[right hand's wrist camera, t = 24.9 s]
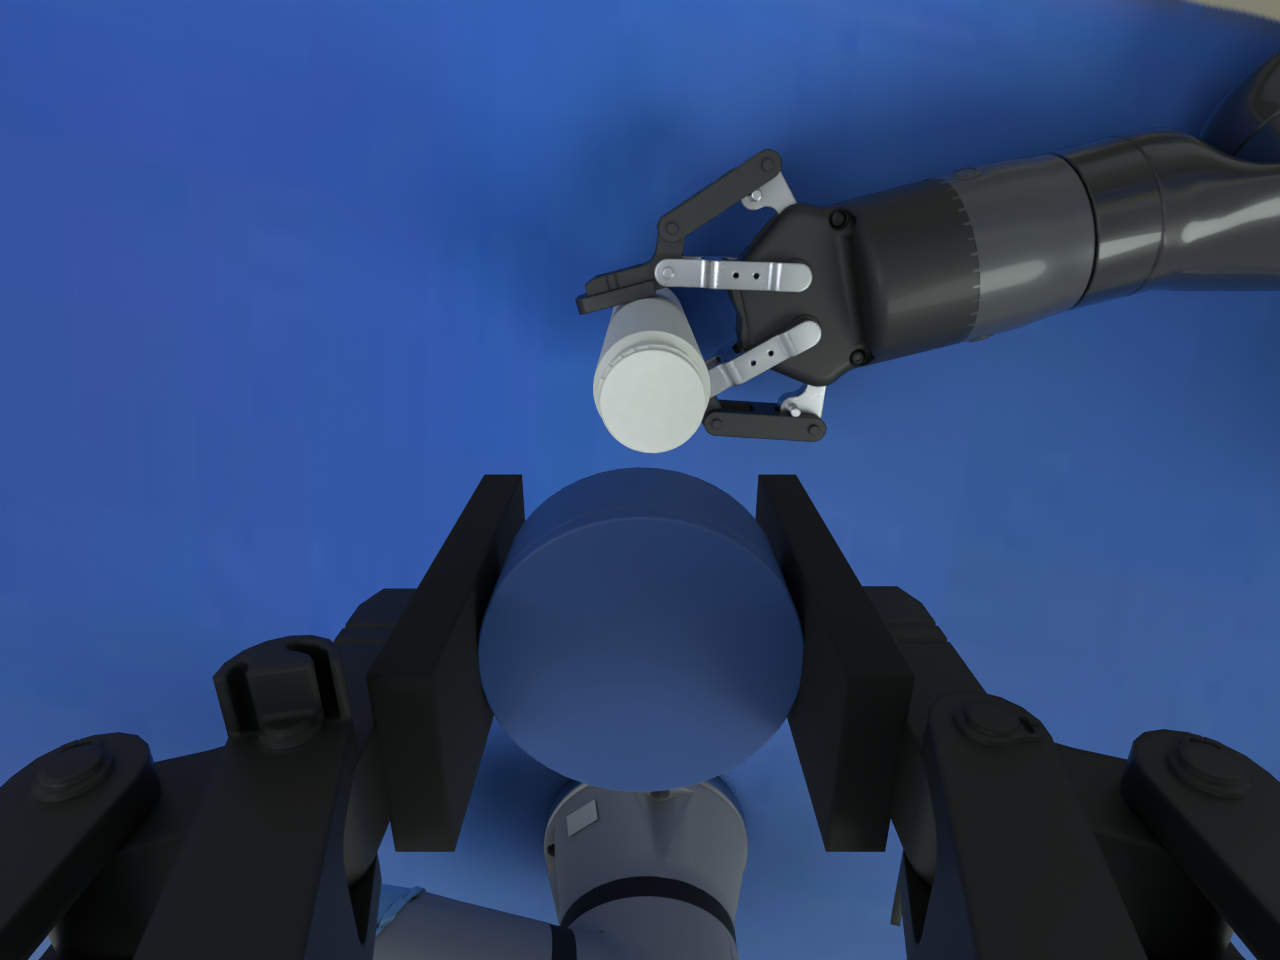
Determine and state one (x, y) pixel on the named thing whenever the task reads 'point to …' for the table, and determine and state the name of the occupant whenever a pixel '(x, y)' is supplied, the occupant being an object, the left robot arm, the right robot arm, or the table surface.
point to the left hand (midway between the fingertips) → (593, 352)
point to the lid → (640, 633)
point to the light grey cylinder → (651, 375)
